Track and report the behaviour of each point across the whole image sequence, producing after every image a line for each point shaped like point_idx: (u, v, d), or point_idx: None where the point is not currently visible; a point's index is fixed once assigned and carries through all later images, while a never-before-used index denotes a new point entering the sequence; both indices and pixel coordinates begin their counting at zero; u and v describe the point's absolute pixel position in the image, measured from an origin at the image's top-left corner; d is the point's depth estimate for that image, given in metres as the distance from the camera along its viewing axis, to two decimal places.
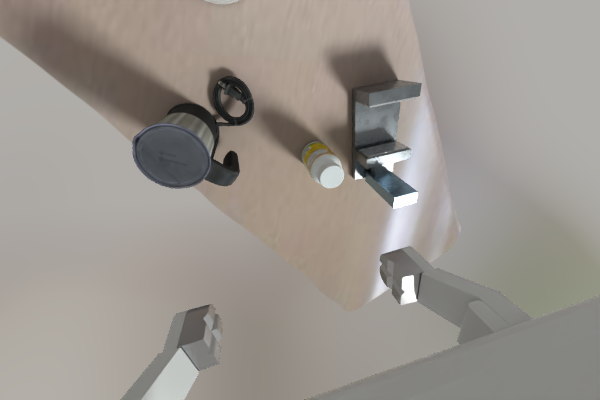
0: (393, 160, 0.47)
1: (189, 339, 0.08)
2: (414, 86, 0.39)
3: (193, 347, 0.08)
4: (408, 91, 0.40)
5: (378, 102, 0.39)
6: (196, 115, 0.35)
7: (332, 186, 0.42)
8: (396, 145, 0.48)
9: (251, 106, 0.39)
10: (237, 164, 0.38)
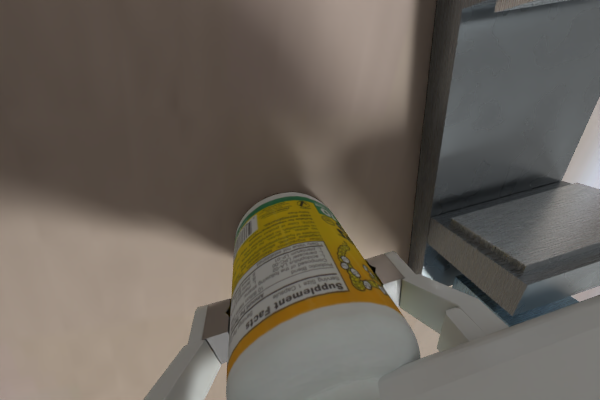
0: None
1: (213, 332, 0.08)
2: None
3: (217, 340, 0.08)
4: None
5: None
6: None
7: None
8: None
9: None
10: None
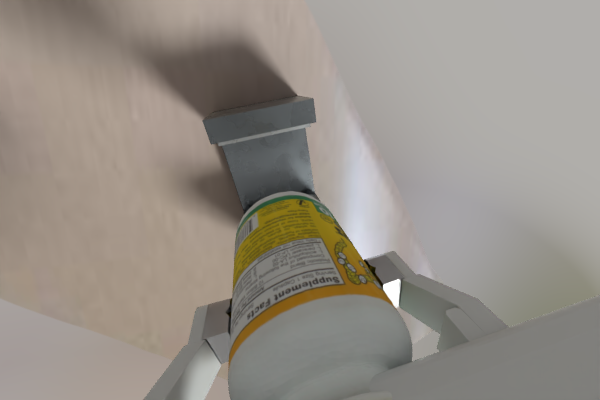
0: None
1: (213, 332, 0.08)
2: (299, 104, 0.20)
3: (217, 340, 0.08)
4: (289, 114, 0.20)
5: (230, 136, 0.20)
6: None
7: None
8: None
9: None
10: None
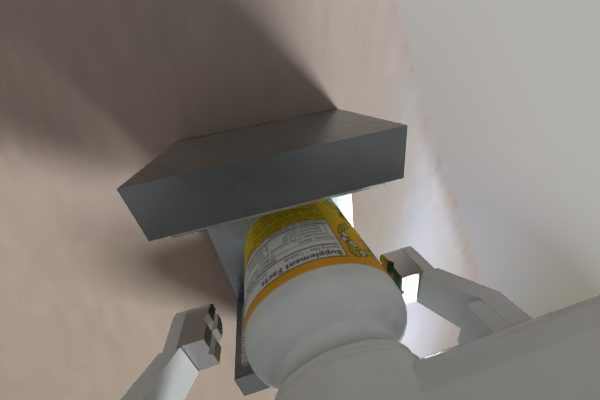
0: None
1: (189, 339, 0.08)
2: (372, 141, 0.08)
3: (193, 347, 0.08)
4: (346, 163, 0.08)
5: (197, 220, 0.08)
6: None
7: None
8: None
9: None
10: None
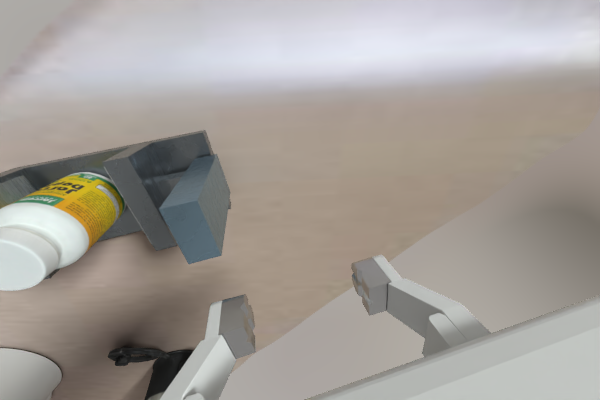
0: (144, 197, 0.21)
1: (229, 327, 0.08)
2: None
3: (233, 335, 0.08)
4: None
5: None
6: None
7: (32, 259, 0.16)
8: None
9: (129, 353, 0.35)
10: None
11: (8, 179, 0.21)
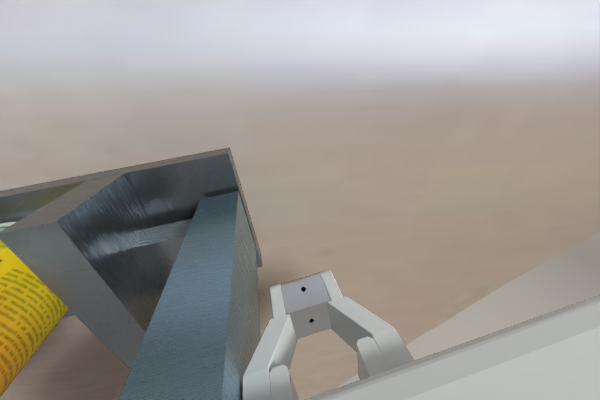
0: (99, 292, 0.10)
1: (295, 307, 0.09)
2: None
3: (299, 314, 0.09)
4: None
5: None
6: None
7: None
8: None
9: None
10: None
11: None
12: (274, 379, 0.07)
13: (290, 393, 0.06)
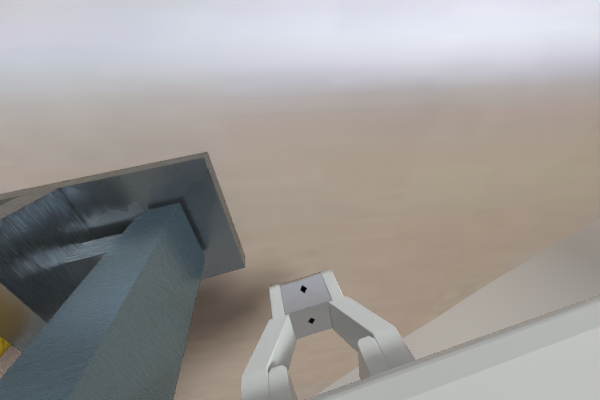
0: (17, 310, 0.10)
1: (294, 307, 0.09)
2: None
3: (298, 315, 0.09)
4: None
5: None
6: None
7: None
8: None
9: None
10: None
11: None
12: (273, 379, 0.07)
13: (289, 393, 0.06)
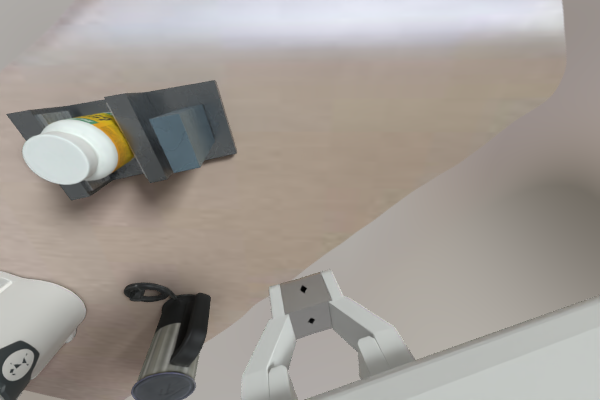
0: (139, 131, 0.25)
1: (294, 307, 0.09)
2: (19, 127, 0.23)
3: (298, 315, 0.09)
4: None
5: (77, 183, 0.26)
6: (156, 329, 0.41)
7: (80, 157, 0.20)
8: None
9: (143, 287, 0.39)
10: (192, 316, 0.38)
11: (57, 111, 0.26)
12: (273, 379, 0.07)
13: (289, 393, 0.06)
